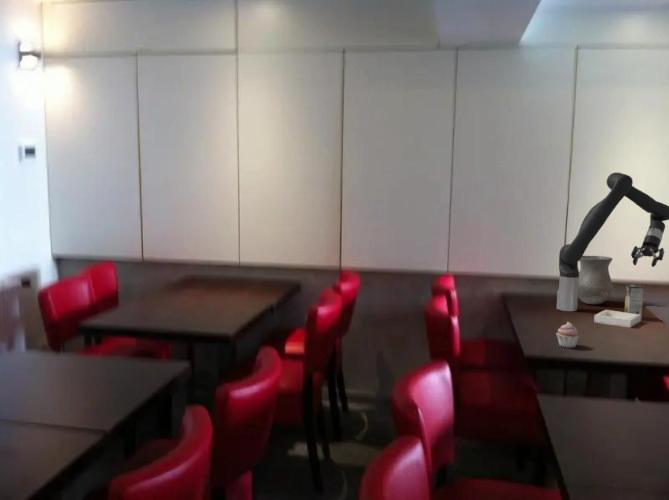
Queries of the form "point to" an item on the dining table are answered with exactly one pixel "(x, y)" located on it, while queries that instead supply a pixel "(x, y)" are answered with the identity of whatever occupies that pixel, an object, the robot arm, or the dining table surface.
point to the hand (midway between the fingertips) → (643, 265)
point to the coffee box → (634, 299)
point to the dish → (617, 318)
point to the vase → (594, 279)
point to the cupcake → (567, 336)
